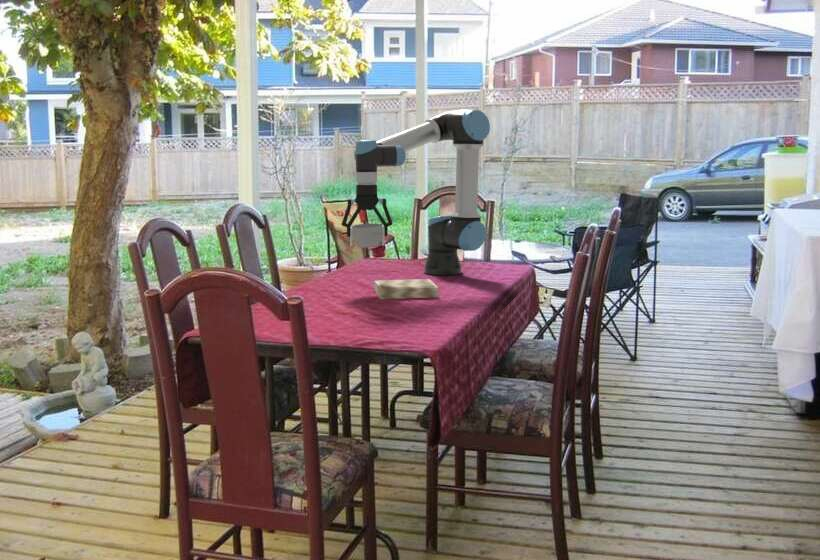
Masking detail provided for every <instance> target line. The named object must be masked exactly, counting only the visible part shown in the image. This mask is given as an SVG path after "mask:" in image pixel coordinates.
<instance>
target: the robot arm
mask: <svg viewBox="0 0 820 560" xmlns="http://www.w3.org/2000/svg"><path fill="white" fill-rule="evenodd" d="M490 129H491V124H490V120H489V118H488V116H487V115H486V114H485V112H483V111H482V110H480V109H473V108H469V109H467V108H466V109H452V110H448V111H445V112H443V113H440V114H437V115H435V116H432V117H430V118H428V119H426V120H425V121H424V123H422V124H419V125H417V126H414V127H412V128H410V129H406V130H404V131H400V132H399V133H395V134H393V135H391V136H388V137H386V138H383V139H380V140H378V141H377V140H372V139H370V140H369V139H368V140H367V139H365V140H364V139H360V140H359V139H358V140H357V141H356V142H355V150H354V152H353V157H354V161H355V183H356V186H355V191H356V194H355V195H356V196H355V198H354V199H353V198H352V199H351V198H347V200H346V201H347V206H346V209H345V212H344V216H343V219H342V222H341V226H343V227H345V228H346V236H347V237H348V238H349V246H350V247H353V246H354V243H353V242H354V238H353V228H352V226H353V223H354V222H355V220H356V218H357V217H358V215H359V214H360V213H361V211H372V210H373V211H374V213H375V215H376V216H377V218H378V219H379V221H380V223H381V224H382V233H383V238H382V241H381V245H382V246H385V245H386V243H385V237H387V236H388V234H389V233H388V230H389V229H388V227H390V226H393V220H392V217H391V215H390V213H389V209H388V207H387V199H386V198H379V197H378V185H377V183H378V167H379V168H380V167H400V166H403V165H404V164H405V163H406V162H405V161H406V159H407V158H406V155H407V154H406V152H409V151H411V150H414V149H416V148H419V147H421V146H425V145H426V144H429V143H433V144H436V143H439V142H443V141H452V145H453V147H454V148H455V149H456V164H455V165H456V166H455V167H456V168H455V200H454V201H455V203H454V212H453V213H452V214H451V215H450V214H449V215H439V216H431V217H430V218H429V220H428V226H427V229H428V230H427V231H428V234H427V237H428V253H427V257H426V260H425V262H424V263H425V264H424V266H423V271H424V272H423V273H424V274H427V275H435V276H453V275H454V276H455V275H458V274H462V265H461V261H460V258H459V256H458V250H459V251H463V252H468V251H469V252H473V251H477V250H478V249H480V248H481V246H483V245H484V243H485V242H486V239H487V238H486V237H487V228H486V226H485V225H484V223H482V221H481V218H482V217H481V215H480V214H479V212H478V199H479V198H478V197H479V196H478V195H479V191H478V190H479V164H480V163H479V161H480V159H479V157H480V149H481V148H482V147H483V146H484V140H485V139H487V137H488V136H489V134H490V131H491V130H490ZM354 203H355V204H356V205H357V207H356V209H355V211H354V213H353V214H352V215H351V218H350V219H349V218H348V217H349V215H350V213H351V212H350V211H351V208H352V206H353V205H354ZM378 204H380V205H382V208H383V212H384V215H385V217H386V220H387V222H386V220H385V218H383V216H382V214H381V213H380V211H379V209H378V208H377V207H376V206H377V205H378ZM348 219H349V221H348ZM347 221H348V223H347Z"/></svg>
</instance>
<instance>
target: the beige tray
mask: <svg viewBox="0 0 820 560" xmlns="http://www.w3.org/2000/svg"><path fill="white" fill-rule="evenodd" d="M374 292H375V293H376V294H377V296H378V298H379V299H380V300H392V299H393V300H395V299H398V300H399V299H424V298H425V299H428V298H434V299H435V298H439V287H438V285H437V284H436V283H435V282H434V281H432V280H431V279H430V278H422V279H420V278H419V279H418V278H417V279H413V278H411V279H388V280H387V279H386V280H385V279H381V280H380V279H379V280H374Z"/></svg>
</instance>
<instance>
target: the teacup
mask: <svg viewBox="0 0 820 560" xmlns="http://www.w3.org/2000/svg"><path fill="white" fill-rule="evenodd" d="M351 227H352V228H353V242H354V243H355V245H357V246H358V247H359V248H374V247H378V246H379V245H380V244H382V238H383V233H382V227H383V224H382V223H377V222H376V223H372V222H370V223H360V224H354V225H351Z"/></svg>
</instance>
